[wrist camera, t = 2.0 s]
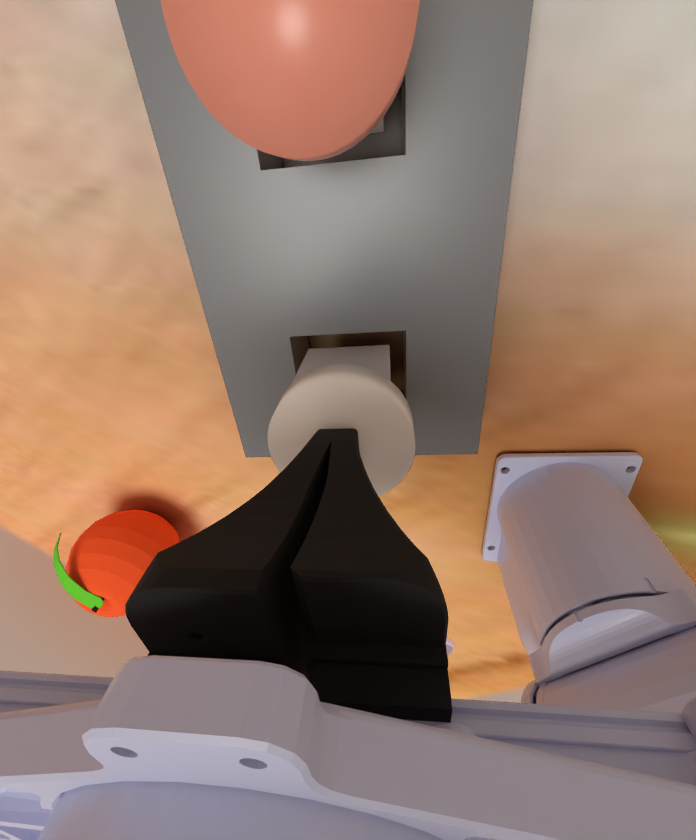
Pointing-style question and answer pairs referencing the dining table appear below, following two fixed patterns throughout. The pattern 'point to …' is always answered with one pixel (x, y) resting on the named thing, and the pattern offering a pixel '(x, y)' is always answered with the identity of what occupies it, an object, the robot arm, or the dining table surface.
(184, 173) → the bar
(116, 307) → the dining table surface
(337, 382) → the plunger white
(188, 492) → the dining table surface
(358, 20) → the plunger red
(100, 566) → the clementine
